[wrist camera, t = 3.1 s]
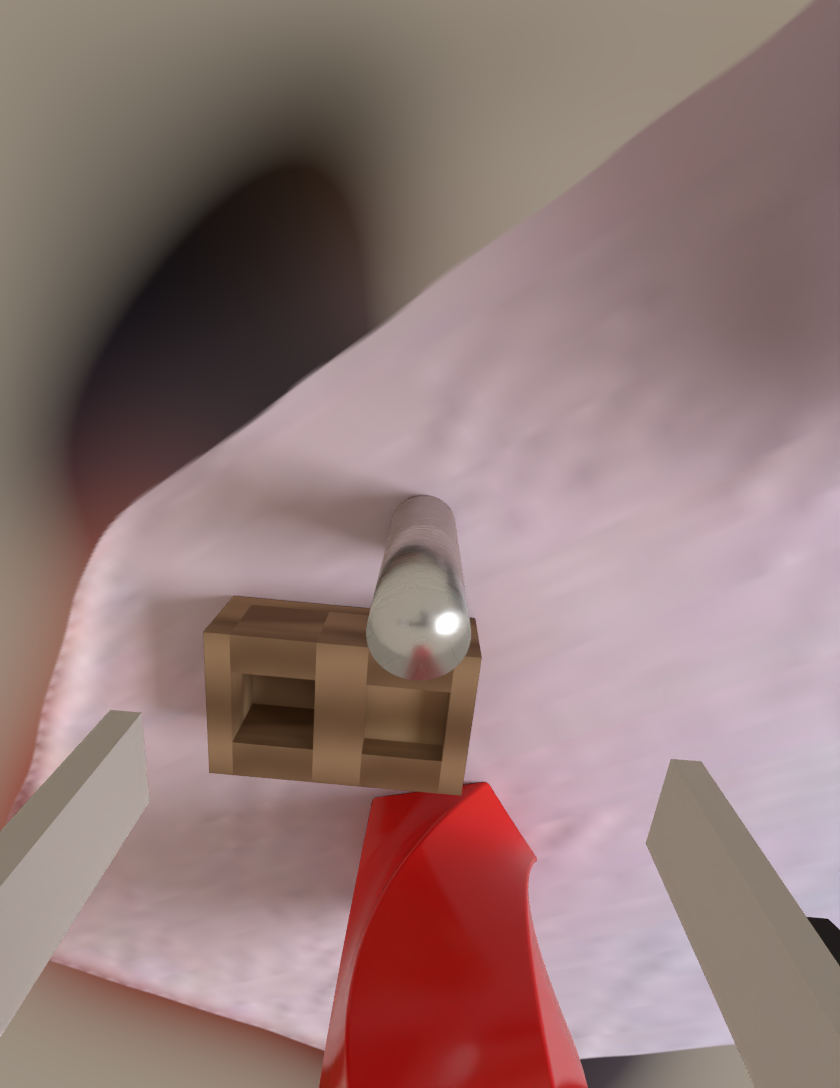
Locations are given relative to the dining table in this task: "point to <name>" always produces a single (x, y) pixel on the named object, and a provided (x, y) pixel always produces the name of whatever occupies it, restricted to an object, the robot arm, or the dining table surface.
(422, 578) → the pin
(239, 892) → the dining table surface
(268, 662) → the block
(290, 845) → the dining table surface
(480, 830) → the vase
